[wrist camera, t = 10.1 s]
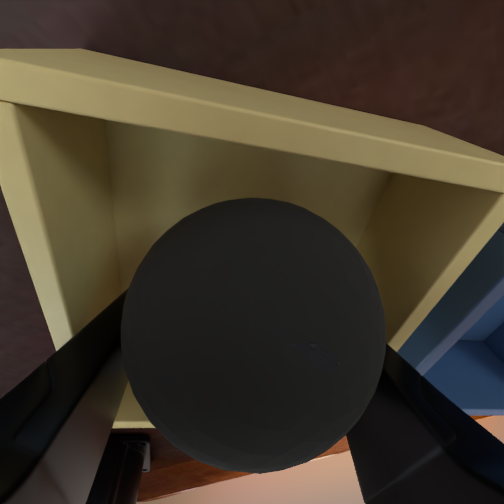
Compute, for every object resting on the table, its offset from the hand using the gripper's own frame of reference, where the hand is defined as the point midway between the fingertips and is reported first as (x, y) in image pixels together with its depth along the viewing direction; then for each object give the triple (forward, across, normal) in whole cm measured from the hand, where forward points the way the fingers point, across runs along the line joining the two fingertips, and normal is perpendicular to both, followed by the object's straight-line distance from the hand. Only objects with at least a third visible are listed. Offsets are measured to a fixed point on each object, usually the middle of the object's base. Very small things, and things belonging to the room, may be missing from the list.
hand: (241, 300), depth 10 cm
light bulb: (+1, 0, 0) cm, 1 cm away
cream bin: (+3, 0, 0) cm, 3 cm away
